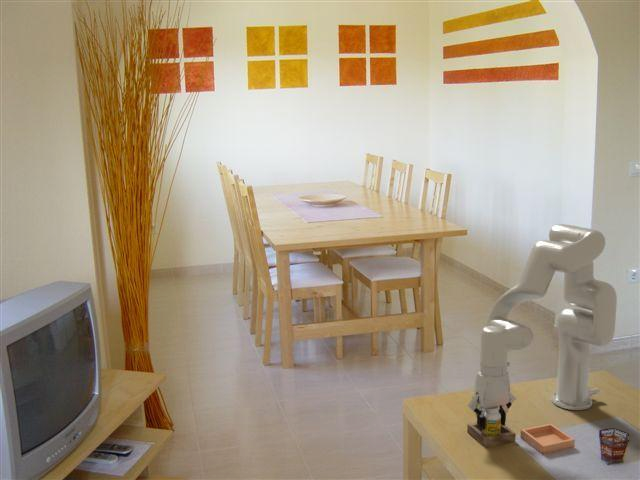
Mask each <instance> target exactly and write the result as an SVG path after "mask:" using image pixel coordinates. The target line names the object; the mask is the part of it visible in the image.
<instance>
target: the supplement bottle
mask: <svg viewBox="0 0 640 480" xmlns="http://www.w3.org/2000/svg"><path fill="white" fill-rule="evenodd" d="M499 409H500V408H499V406H495V407H490V408H487V409H486V412H485V414H484V417H485V418H486V422H485V430H482V431H481V432H482V433H483V434H484V435H486V436H487V437H488V436H493V435H498V434H501V433H500V430H501V415H500V413H499Z"/></svg>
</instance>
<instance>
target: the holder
mask: <svg viewBox="0 0 640 480" xmlns="http://www.w3.org/2000/svg"><path fill="white" fill-rule="evenodd" d="M466 429H467V431H466V432H467V433H468V434H469V435H470V436H472V437H473V438H474V439H475V440H476V441H477V442H478V443H480V445H482V446H484V447H485V448H489V447H493V446H499V445H503V443H504V444H508V443H513V442H516V435H517V434H516V433H517V432H515V431H514V430H512V429H511V428H509V427H508V426H507V425H506V424H505V425H504V426H503V425H501V430H500V434H498V435H493V436H488V437H487V436H486V435H484V434H483V433H482V429H481V428H480V427H479V426H478V425H477V421H476V422H472V423H467V428H466Z"/></svg>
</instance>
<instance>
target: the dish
mask: <svg viewBox="0 0 640 480" xmlns="http://www.w3.org/2000/svg"><path fill="white" fill-rule="evenodd" d="M520 438H521V439H522V440H523V441H525V442H526V443H527V444H528V445H530V447H532V448H534V449H536V450H537V451H538V452H539V453H541V455H548V454H550V453H551V454H553V453H556V452H557V453H558V452H561V451H565V450H569V449H574V448H575V438H573V437H572V436H570V435H569V434H568V433H566V432H564V431H563V430H561V428H558V427H557V426H556V425H554V424H553V423H551V422H549V423H545V424H542V425H537V426H531V427H527V428H522V429H520Z"/></svg>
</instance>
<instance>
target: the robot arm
mask: <svg viewBox="0 0 640 480" xmlns="http://www.w3.org/2000/svg"><path fill="white" fill-rule="evenodd" d="M548 238H549V239H548V240H546V239H544V240H543V239H542V240H539V241H537V242H535V244H533V247H532V248H531V251H530V253H529V256H528V258H527V261H526V263H525V265H524V268H523V270H522V272H521V274H520V277H519V280H518V281H517V283H516V285H514V286H513V287H512V288H510V289H509V290H507V291H506V292H504V293H503V294H502V295H501V296H500V297H499V298H498V299H497V300H496V301H495V303H494V304H493V306H492V308H491V310H490V312H489V315H488V317H487V319H486V322H485V327H483V328H482V329H481V332H480V333H481V334H480V360H479V362H480V364H479V367H480V368H479V371H477V373H476V376H475V379H474V386H473V395H472V397H473V399H471V400H470V401H469V403H468V404H467V406H468V407H469V409H470V410H472V411H473V412H474V413H475V414H476V422H477V425H478V426H479V427H480V428H481V429H482V430H485V422H486V418H485V417H484V414H485V412H486V409H487V408H490V407H495V406H498V407H499V413H500V415H501V425H503V426H504V425H505V426H506V421H507V413H508V412H509V409H510V408H511V406H512V404H513V403H514V402H515V400H516V399H517V398H516V396H515V395H513V393H511V381H510V377H509V376H510V375H509V372H508V371H507V370H508V368H509V367H511V363H510V362H509V361H508V353H509V351H520V350H525V349H527V348H528V347H529V346H531V344H532V343H533V341H534V333H533V330H532V329H531V328H530V327H529V326H528V325H527V324H524V323H520V322H518V321H514V320H513V319H512V320H511V319H508V316H509V314H510V313H511V311H512V310H513V309H514V308H515V307H516V306H518V305H520V304H522V303H525V302H529V301H533V300H538V299H541V298H544V297H545V296H546V294H547V292H548V290H549V287H550V285H551V282H552V279H553V276H554V275H555V273H556V272H559V273H563V274H564V275H563V297H564V300H565V302H566V303H568V304H570V305H571V306H575V307H566V308H564V309H562V311H561V312H559V314H558V316H557V320H556V322H557V326H556V327H557V333H558V345H559V346H558V347H559V348H558V364H557V377H556V378H557V380H556V391H555V392H554V393H552V395H551V400H550V401H551V402H552V403H553V404H554V405H556V406H557V407H560V408H561V409H566V410H570V411H583V410H584V411H585V410H588V409H590V408H591V407H592V406H593V400H592V398H591V397H593V395H598V394H600V392H601V390H600V389H599V387H595V388H591V387H590V386H589V381H590V380H589V379H590V366H591V348H590V346H589V345H592V346H595V347H599V348H600V347H601V348H602V347H603V348H604V347H607V346H609V345H610V344H611V342H612V340H613V339H614V336H615V331H616V318H617V316H616V315H617V302H618V300H617V299H618V298H617V292H616V290H615V288H614V286H613V285H611V283H608V282H607V281H603V280H598V279H595V278H594V260H596V259H597V258H598V257H600V256H601V254H602V253H603V252H604V249H605V247H606V238H605V236H604V234H603V232H601V231H599V230H597V229H593V228H588V227H587V228H586V227H581V226H576V225H572V224H571V225H570V224H566V223H565V224H563V223H561V224H560V223H559V224H555V225H553V226H552V227H551V228H550V229H549V233H548ZM576 307H578V308H576ZM585 309H586V310H585ZM477 403H479V404H478V406H477V408H476V407H475V405H476V404H477ZM481 408H482V410H481Z"/></svg>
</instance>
